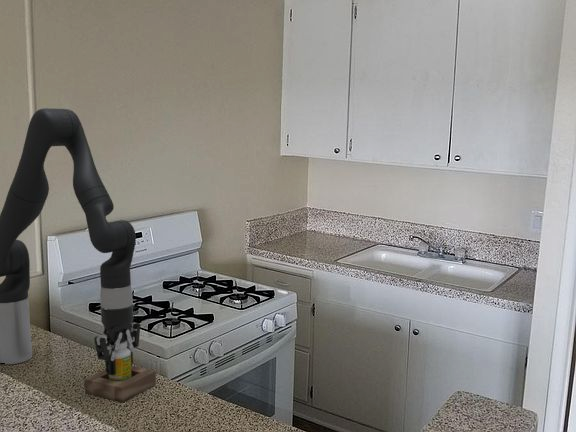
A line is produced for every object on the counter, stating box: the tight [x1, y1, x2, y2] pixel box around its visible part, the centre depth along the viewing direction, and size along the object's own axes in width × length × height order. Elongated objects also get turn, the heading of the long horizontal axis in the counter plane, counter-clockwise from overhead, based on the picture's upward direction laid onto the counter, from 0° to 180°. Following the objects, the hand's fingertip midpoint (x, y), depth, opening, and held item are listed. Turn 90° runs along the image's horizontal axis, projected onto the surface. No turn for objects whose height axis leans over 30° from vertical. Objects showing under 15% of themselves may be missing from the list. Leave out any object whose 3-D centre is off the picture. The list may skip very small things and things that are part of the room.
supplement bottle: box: [109, 341, 132, 382], centre depth 163 cm, size 5×5×10 cm
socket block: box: [83, 365, 157, 403], centre depth 164 cm, size 12×12×4 cm
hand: (119, 370), depth 163 cm, fingers closed on supplement bottle, 5 cm apart
